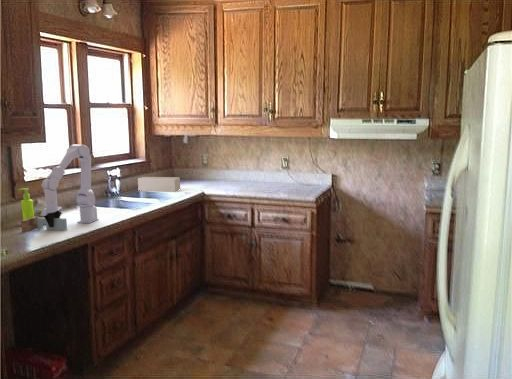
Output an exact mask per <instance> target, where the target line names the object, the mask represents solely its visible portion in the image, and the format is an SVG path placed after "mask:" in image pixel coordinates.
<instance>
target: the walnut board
mask: <svg viewBox="0 0 512 379" xmlns="http://www.w3.org/2000/svg"><path fill="white" fill-rule="evenodd" d="M39 217H40V218H44V216H42V215H41V214H39V215H38V216H34V217H32V218H29V219H25V220H23V219H22V220H20V225H21V233H27V232H30V231H32V230H36V229H38V221H37V218H39ZM45 226H46V224H43V227H45Z"/></svg>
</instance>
